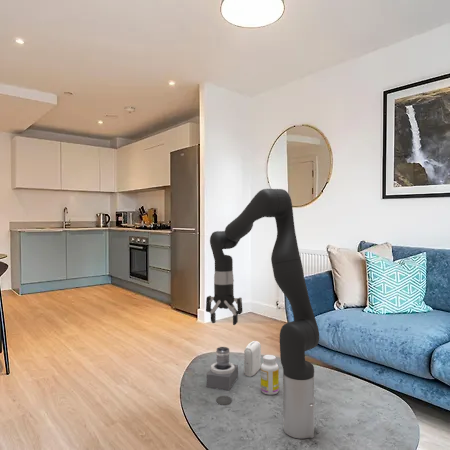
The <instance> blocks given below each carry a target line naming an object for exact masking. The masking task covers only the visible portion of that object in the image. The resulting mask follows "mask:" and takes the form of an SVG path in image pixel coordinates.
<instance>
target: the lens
mask: <svg viewBox="0 0 450 450" xmlns="http://www.w3.org/2000/svg"><path fill="white" fill-rule="evenodd" d="M215 354H216V362H217V369H219V370H227V369H229V363H230V348H229V347H226V346H218V347H217V348H216V353H215Z"/></svg>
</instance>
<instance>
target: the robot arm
mask: <svg viewBox="0 0 450 450" xmlns="http://www.w3.org/2000/svg"><path fill="white" fill-rule="evenodd" d="M263 218H275V224H276V231H277V233H276V238H275V242H274V245H273V249H272V252H271V261H270V262H271V267H272V273H273V277H274V280H275V283H276V285H277V287H279V290H281V292H282V293H283V294H284V295H285V297H286V299H287V300H288V303H289V304H290V307H291V310H292V315H293V321H289V322H285V323H284V324H283V325H282V326H281V328H280V330H279V355H280V362H281V363H280V364H281V366H282V367H281V368H282V387H283V388H282V408H283V409H282V417H283V418H282V431H283V432H284V433H285V434H286V435H287V436H289V437H292V438H294V439H299V440H301V439H302V440H303V439H309V438H311V439H313V438H314V435H315V427H316V426H315V424H316V421H315V420H316V417H315V415H316V414H315V413H316V412H315V411H316V405H315V404H316V401H315V400H316V396H315V367H314V364H313V363H312V362H310V361H308V360H306V355H305V354H306V353H305V352H307V351H310V350H312V349H315V348H316V347H317V346H318V344H319V343H320V330H319V326H318V324H317V320H316V317H315V313H314V310H313V307H312V304H311V301H310V297H309V291H308V288H307V284H306V280H305V274H304V268H303V263H302V259H301V255H300V250H299V245H298V240H297V234H296V228H295V221H294V219H295V218H294V211H293V203H292V199H291V195H290V194H289V193H288V191H287V190H285V189H283V188H263V189H261V190H259V191H257V193H256V194H255V195H254V196H253V197H252V199H251V200H250V202H249V203H248V205H247V206H245V207H244V209H243V211H242V212H241V213H240V214H239V215H238V216H237V217H235V218H234V219H233V220H232V221H231V222H229V223H228V224H227V226H226V227H225V229H224V230H220V231H219V230H217V231H214V232H212V233H211V235H210V237H209V245H210V248H211V252H212V256H213V260H214V275H213V276H214V277H213V284H214V285H213V290H214V291H213V293H214V296H211V295H208V296H206V300H205V302H206V304H205V311H206V312H207V313H210V322H211V323H212V324H215V323H216V319H217V318H216V316H217V315H216V311H217V309H221V310H222V309H224V310H225V309H226V310H229V311H230V313H232V314H233V315H232V325H233V326H235V325H237V323H238V321H239V320H238V319H239V315H241V314H243V312H244V311H243V301H242V300H243V299H242V297H235V296H234V292H235V291H234V282H235V280H234V271H233V270H234V269H233V268H234V267H233V263H234V260H233V257H232V255H229V254H228V255H227V254H225V253H224V251H223V250H230V249H233V248H235V247H236V246H237V245H238V244H239V242H240V240H241V239H242V238H244V237H245V236H246V235H248V234H250V232H251V231H252V229H253V227H254V223H255V222H256V221H258V220H260V219H263ZM213 301H214V303H215V304H214V306H213V307H212V302H213ZM234 302H235V304H237V307H236V306H235V305H234Z"/></svg>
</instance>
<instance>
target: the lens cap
mask: <svg viewBox="0 0 450 450" xmlns="http://www.w3.org/2000/svg"><path fill="white" fill-rule="evenodd" d="M232 401H233V399H232V397H230V396H227V395H221V396H218V397H216V398H215V403H216V402H217V403H218V404H217V403H216V404H217V405H219V404H220V406H228V405H230V404H232V403H233V402H232Z"/></svg>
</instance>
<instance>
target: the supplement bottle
mask: <svg viewBox="0 0 450 450" xmlns="http://www.w3.org/2000/svg"><path fill="white" fill-rule="evenodd" d="M262 361H263V362H261V367H260V391H261V392H262V394H264V395H268V396H269V395H277V394H278V393H279V390H280V389H279V388H280V387H279V386H280V385H279V383H280V382H279V381H280V380H279V379H280V378H279V373H280V372H279V365H278V363H277V362H276V361H277V358H276V356H275V355H273V354H265V355H263V357H262Z"/></svg>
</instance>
